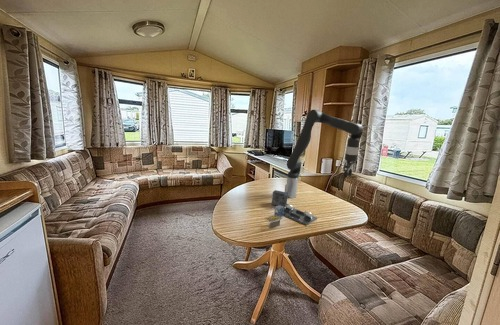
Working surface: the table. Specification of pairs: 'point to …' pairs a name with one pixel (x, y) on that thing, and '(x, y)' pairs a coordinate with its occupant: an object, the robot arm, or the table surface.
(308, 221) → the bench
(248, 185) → the table surface
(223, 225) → the table surface
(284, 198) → the small box
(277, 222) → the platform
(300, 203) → the table surface
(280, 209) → the block with round knob
